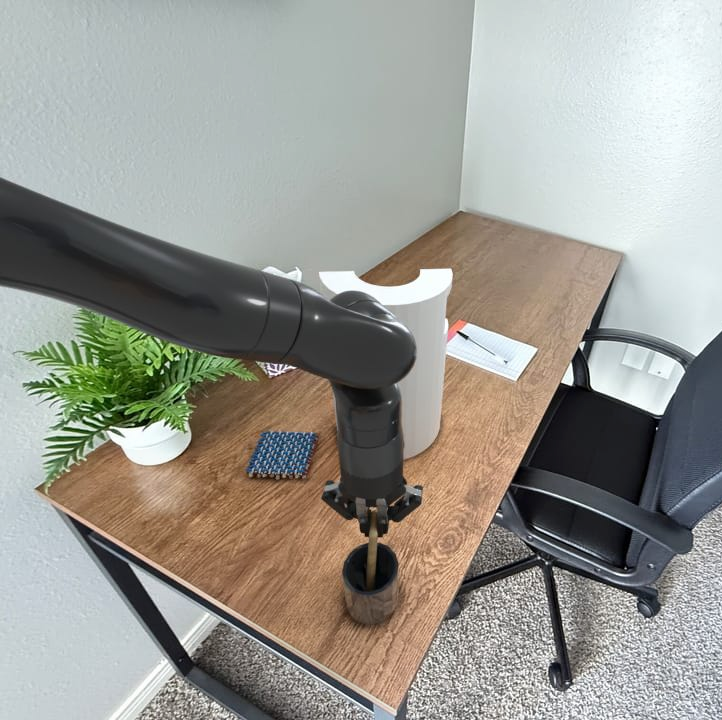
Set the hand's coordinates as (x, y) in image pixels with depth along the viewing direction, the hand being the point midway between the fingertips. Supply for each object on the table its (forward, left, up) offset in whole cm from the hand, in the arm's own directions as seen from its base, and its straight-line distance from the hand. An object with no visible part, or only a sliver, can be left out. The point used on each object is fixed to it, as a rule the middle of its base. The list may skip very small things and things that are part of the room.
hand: (375, 531), depth 66 cm
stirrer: (-3, 0, -2) cm, 4 cm away
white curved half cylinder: (+26, +1, -11) cm, 28 cm away
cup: (-5, 0, -10) cm, 11 cm away
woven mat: (+20, +20, -11) cm, 30 cm away
